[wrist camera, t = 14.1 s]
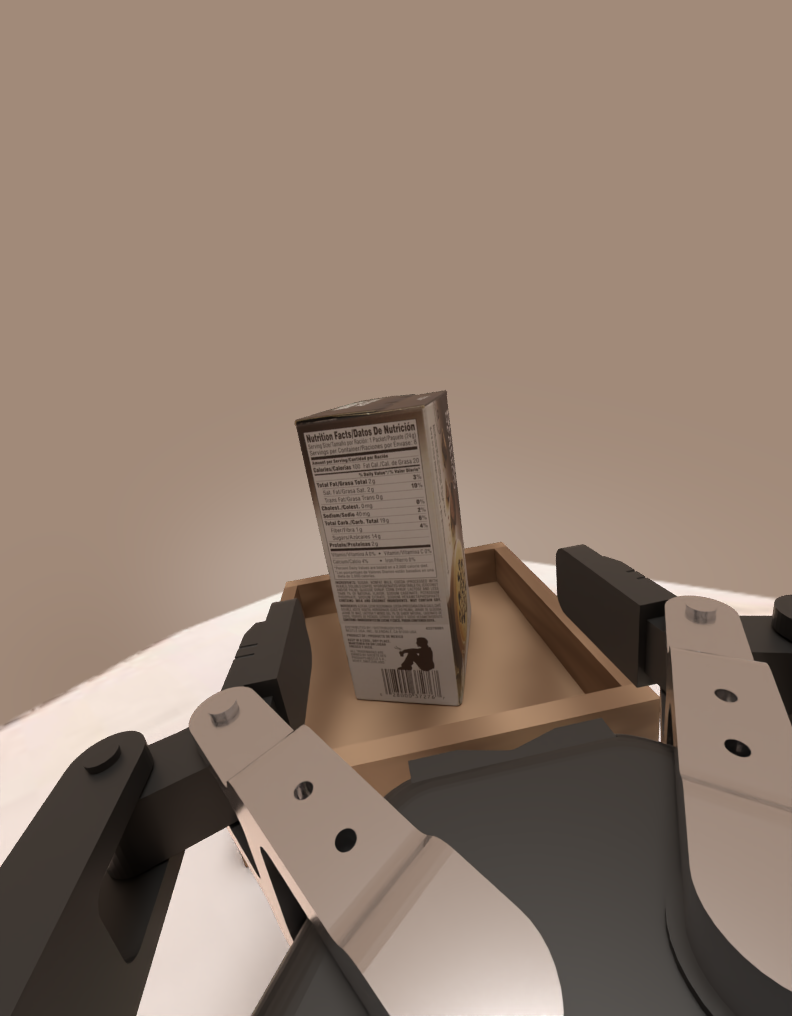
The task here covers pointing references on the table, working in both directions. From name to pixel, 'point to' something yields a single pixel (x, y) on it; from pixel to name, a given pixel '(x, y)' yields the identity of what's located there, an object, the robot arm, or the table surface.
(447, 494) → the coffee box
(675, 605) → the robot arm
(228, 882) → the table surface
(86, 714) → the table surface
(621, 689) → the walnut tray
